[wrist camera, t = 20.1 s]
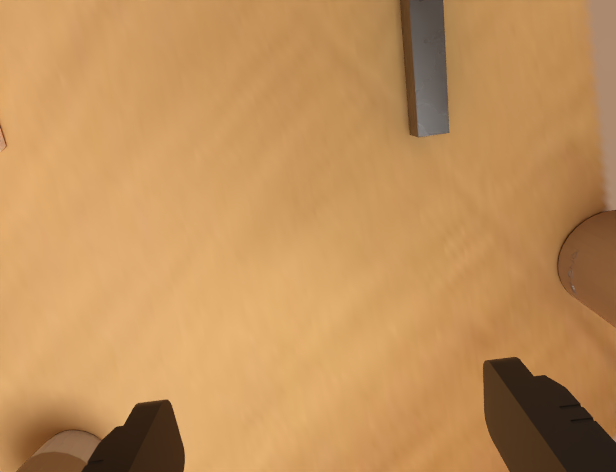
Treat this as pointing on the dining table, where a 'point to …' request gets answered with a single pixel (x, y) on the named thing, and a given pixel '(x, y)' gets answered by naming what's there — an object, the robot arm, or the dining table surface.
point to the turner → (425, 66)
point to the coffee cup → (63, 453)
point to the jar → (2, 141)
